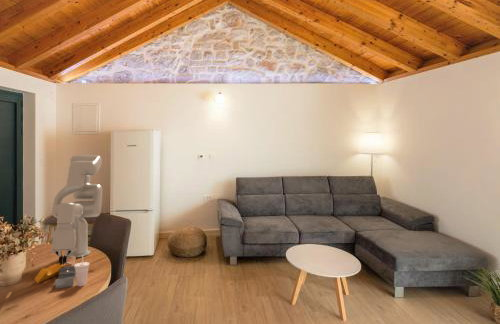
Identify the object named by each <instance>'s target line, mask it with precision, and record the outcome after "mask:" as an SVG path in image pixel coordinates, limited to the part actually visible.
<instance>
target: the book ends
mask: <svg viewBox="0 0 500 324" xmlns="http://www.w3.org/2000/svg"><path fill="white" fill-rule="evenodd" d="M57 276H58V278H56V279H55V280H54V281H55V283H54V287H55V289H64V288H70V287H74V285H75V279H76V272H75V268H74V266H68V267H62V268H60V272H59V274H57Z"/></svg>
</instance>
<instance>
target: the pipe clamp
mask: <svg viewBox="0 0 500 324" xmlns="http://www.w3.org/2000/svg"><path fill="white" fill-rule="evenodd" d="M64 266H65V264H64V265H63V262H62V265H60V263H59V262H57V263H54V264H52V265H50V266H48V267H44V268H42V269H40V271H38V273H37V274H36V276H35V278H34V280H35V282H36V283H37V284H39V283H41V282H44V281H46V280H48V279H51V278H52V277H53V278H54V277H55V276H58V275H59V272H60V268H62V267H64Z"/></svg>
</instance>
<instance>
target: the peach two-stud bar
mask: <svg viewBox="0 0 500 324" xmlns="http://www.w3.org/2000/svg"><path fill="white" fill-rule="evenodd" d="M76 258H77V257H76V256H74V257H73V256H70V257H67V260H66V263H65V266H64V267H68V266H74V265H75V264H77V263H76Z"/></svg>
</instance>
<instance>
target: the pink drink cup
mask: <svg viewBox="0 0 500 324" xmlns="http://www.w3.org/2000/svg"><path fill="white" fill-rule="evenodd" d="M89 267H90V262H88V261H84V256H83V255H82V257H81V262H77V263H76V264H75V265H74V268H75V272H76V275H75V279H76V286H77V287H83V286H87V283H88V282H87V281H88V275H89Z"/></svg>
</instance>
